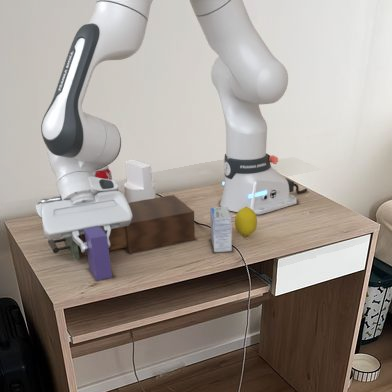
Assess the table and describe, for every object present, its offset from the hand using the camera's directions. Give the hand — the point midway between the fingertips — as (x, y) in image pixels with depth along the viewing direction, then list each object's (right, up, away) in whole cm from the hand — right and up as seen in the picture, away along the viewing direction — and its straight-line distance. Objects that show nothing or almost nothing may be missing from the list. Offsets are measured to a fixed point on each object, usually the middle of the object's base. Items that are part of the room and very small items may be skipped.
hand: (96, 249), depth 121 cm
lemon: (+35, +6, +17) cm, 40 cm away
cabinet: (+11, +7, +19) cm, 23 cm away
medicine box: (+29, +3, +13) cm, 32 cm away
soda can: (-5, +18, +37) cm, 41 cm away
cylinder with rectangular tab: (+6, +20, +39) cm, 44 cm away
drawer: (-3, +3, +13) cm, 14 cm away
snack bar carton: (+1, -5, +2) cm, 6 cm away
